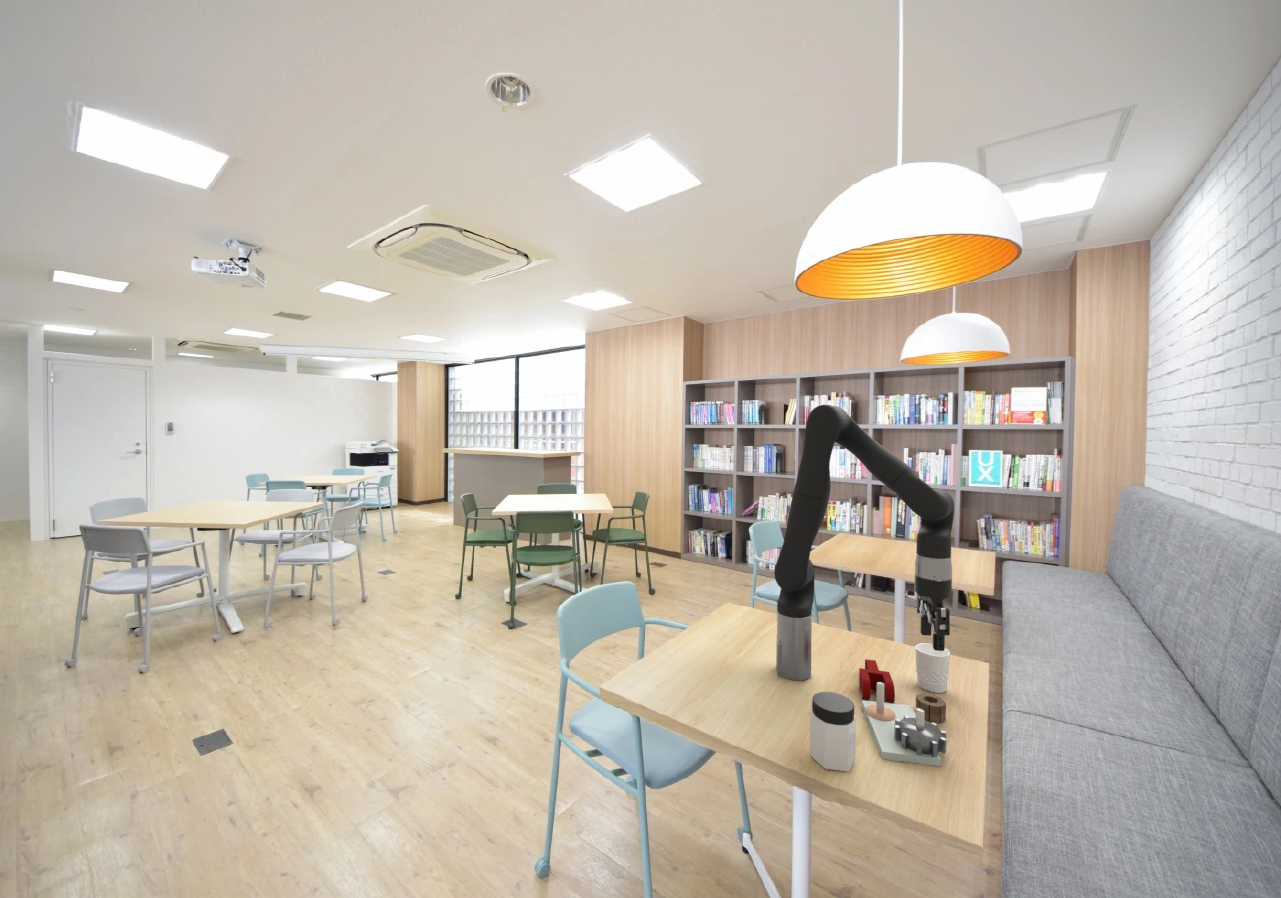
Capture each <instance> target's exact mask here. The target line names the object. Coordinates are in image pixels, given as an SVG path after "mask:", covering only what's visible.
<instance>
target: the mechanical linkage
mask: <svg viewBox="0 0 1281 898" xmlns="http://www.w3.org/2000/svg"><path fill="white" fill-rule="evenodd" d="M858 674H859V675H858V677H859V678H858V687H859V691H860V694H861V698H862V699H864V700H865V699H866V700H871V699H872V692H876V693H877V682H881V683H884V702H885V703H892V704H895V701H896V694H895V693H896V692H895V691H896V690H895V684H894V680H893V678H892V676H891V673H890V671H886V670H879V666H878V663H877V661H876V660H875V659H866V658H865V661H864V668H863V667H861V668H859V672H858Z"/></svg>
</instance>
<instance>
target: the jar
mask: <svg viewBox="0 0 1281 898" xmlns="http://www.w3.org/2000/svg"><path fill="white" fill-rule="evenodd" d="M811 700H812V701H811V707H812V709H811V711H810V714H809V715H810V718H809V719H810V720H809V723H810V724H809V725H810V727H809V734H810V735H809V740H810V741H809V755H811V756H812V757H813V760H815V762H817V763H818V764H819V765H820V766H821V767H822V768H823V769H824V768H825V769H824V770H829V769H830V770H832V771H838V770H839V771H838V772H840V771H841V772H849V771H850V769H851V768H852V767H853V764H854V763H855V761H857V760H856V757H857V755H856V754H857V752H856V748H857V747H856V746H857V744H856V743H857V741H856V740H857V739H856V738H857V716H856V714H855V704H854V702H853V701H852V700H851V699H850V698H849V697H847V696H845V695H843V694H841V693H837V692H833V691H832V692H831V691H821V692H817V693H815V694H814V695H813V696H812V699H811ZM811 756H810V757H811ZM812 757H811V758H812ZM830 770H829V771H830Z"/></svg>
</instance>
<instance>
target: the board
mask: <svg viewBox="0 0 1281 898" xmlns="http://www.w3.org/2000/svg"><path fill="white" fill-rule="evenodd" d="M861 707H862V710H863V713H864V715H865V718H866V721H867V723H868V725H869V728H870V732H871V733H872V734H871V735H872V736H873V738H874V741H875V743H876V746H877V749H878V751H879V755H880V756H881V757H880V758H881V759H882V760H889V761H896V762H898V761H899V762H903V763H905V762H906V763H912V764H919V765H920V764H921V765H927V766H934V767H936V766H937V767H942V758H941V756H940V754H939V753H938V754H937V757H933V756H932V755H929V754H922V756H921V755H918V754H916V752H915V751H913V750H911V749H909V748H907V749H904V748H903V747H901V746H902V743H901V742H900V741H899V740H895V738H894V725H895V719H896V718H897V719H900V720H901V719H904V716H908V717H910V718H916V711H915V710H914V708H913V707H912V705H909V704H900V703H891V702H885V698H884V683H881V682H877V692H876V701H872V700H861Z"/></svg>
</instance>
